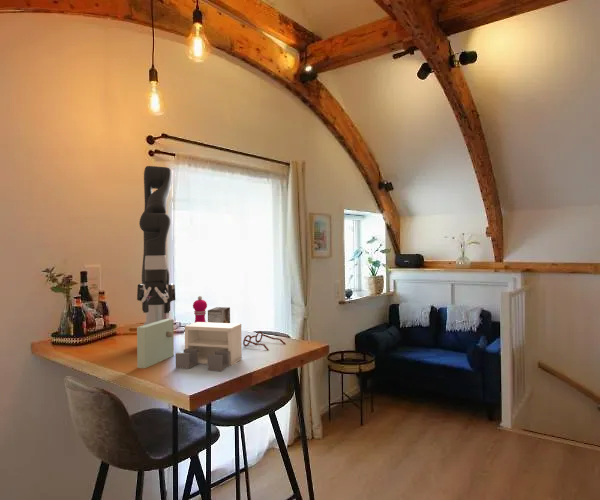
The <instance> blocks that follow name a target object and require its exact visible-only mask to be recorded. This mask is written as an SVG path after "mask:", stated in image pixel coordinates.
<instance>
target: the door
mask: <svg viewBox="0 0 600 500" xmlns="http://www.w3.org/2000/svg"><path fill="white" fill-rule="evenodd" d="M136 340H137V341H136V357H137V358H136V360H137V362H136V363H137V366H136V367H137V369H147V368H149V367H151V366H155V365H156V364H158V363H160V362H162V361H166V360H167V359H169V358H171V357H174V353H175V351H174V350H175V349H174V318H169V319H164V320H160V321H157V322H154V323H150V324H147V325H144V324H143V325H139V326H137V328H136Z"/></svg>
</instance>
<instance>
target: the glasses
mask: <svg viewBox="0 0 600 500" xmlns="http://www.w3.org/2000/svg"><path fill="white" fill-rule="evenodd" d="M259 334H261V335H260V338H259V340H258V335H259ZM263 337H265V338H269V339H271V340H277V341H280V342H281V343H282V344H283V345H286V342H284V340H283V339H281V338H278V337H272V336H270V335H267V334H265V333H263V332H262V331H258V332H257V333H256V334H255V335H250V334H247V335H245V337H244V339H243V340H242V341H243V346H244V347H247V346H249V345H250V344H253V345H255V346H263V347H264V349H265V350H267V351H270V349H269V348H268V347H267V345H265V344H264V343H260V342H261V341H262V339H263ZM247 338H249V339H247ZM253 338H255V340H254V341H255V342H254V341H252V339H253ZM246 342H247V344H245V343H246Z"/></svg>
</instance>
